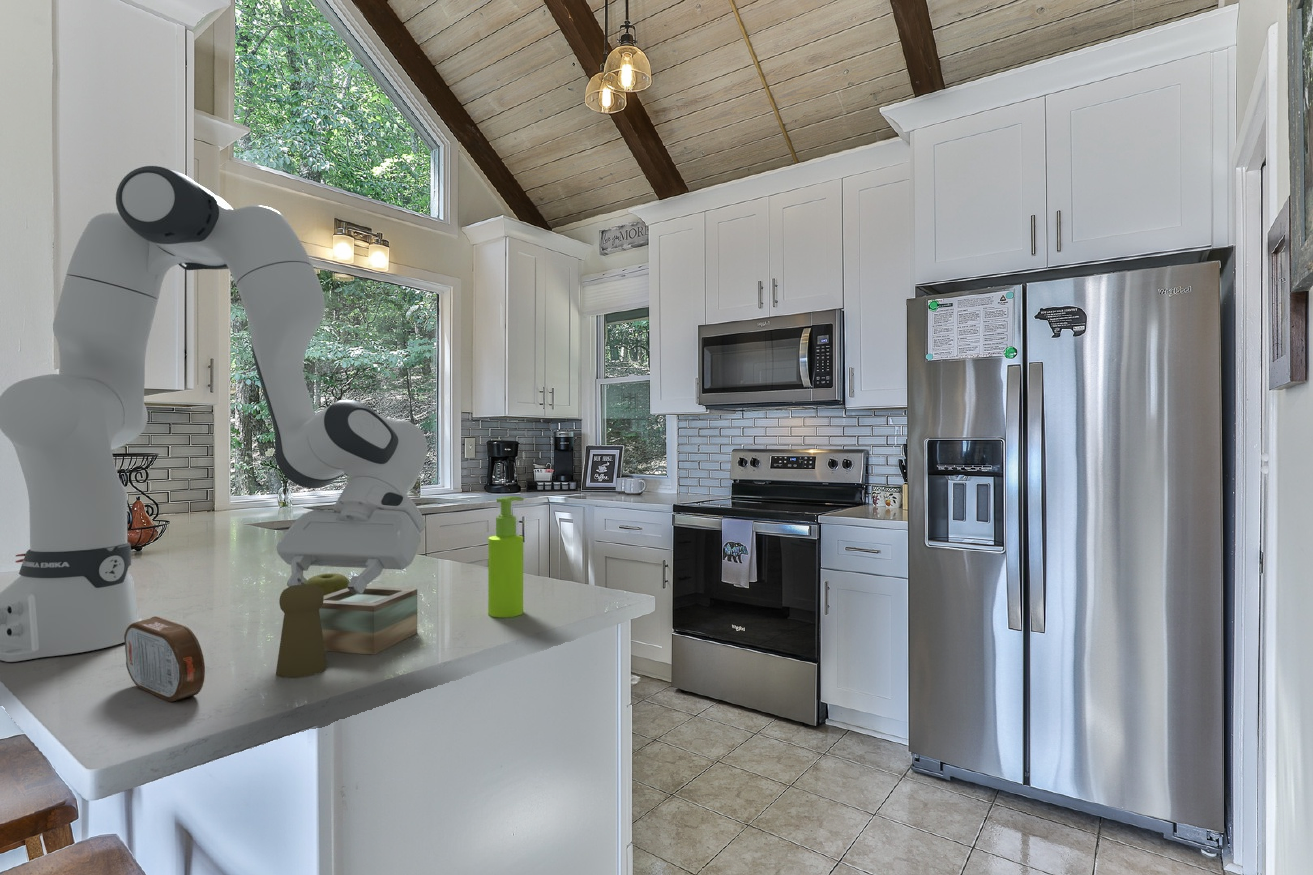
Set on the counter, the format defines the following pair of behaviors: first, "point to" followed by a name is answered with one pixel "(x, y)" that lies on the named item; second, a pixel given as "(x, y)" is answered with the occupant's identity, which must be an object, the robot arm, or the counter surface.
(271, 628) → the counter surface
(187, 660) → the tin
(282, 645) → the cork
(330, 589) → the apple
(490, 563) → the soap dispenser
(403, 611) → the brown wooden square box
